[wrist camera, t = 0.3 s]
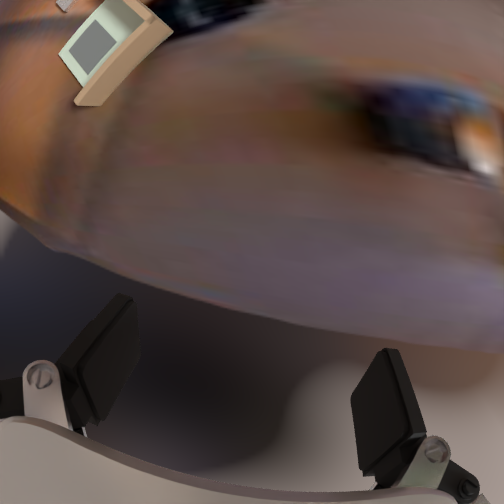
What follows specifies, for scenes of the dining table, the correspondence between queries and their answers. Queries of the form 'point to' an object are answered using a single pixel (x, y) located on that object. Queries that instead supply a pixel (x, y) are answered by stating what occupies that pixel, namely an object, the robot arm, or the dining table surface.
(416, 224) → the dining table surface
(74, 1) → the bracket
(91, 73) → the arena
